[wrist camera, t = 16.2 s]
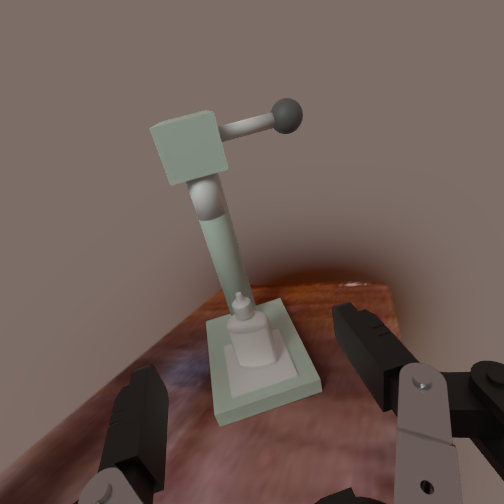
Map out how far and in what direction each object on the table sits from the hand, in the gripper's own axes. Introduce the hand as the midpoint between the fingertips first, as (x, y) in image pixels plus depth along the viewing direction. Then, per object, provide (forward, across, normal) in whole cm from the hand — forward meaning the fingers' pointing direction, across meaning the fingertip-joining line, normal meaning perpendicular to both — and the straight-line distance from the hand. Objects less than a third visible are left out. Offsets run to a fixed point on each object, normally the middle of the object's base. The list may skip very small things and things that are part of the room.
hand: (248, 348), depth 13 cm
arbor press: (+23, -3, +26) cm, 35 cm away
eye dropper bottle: (+20, 0, +24) cm, 31 cm away
